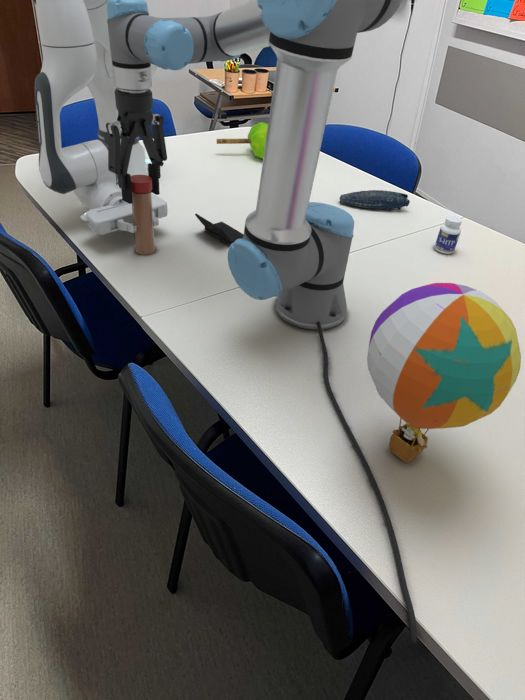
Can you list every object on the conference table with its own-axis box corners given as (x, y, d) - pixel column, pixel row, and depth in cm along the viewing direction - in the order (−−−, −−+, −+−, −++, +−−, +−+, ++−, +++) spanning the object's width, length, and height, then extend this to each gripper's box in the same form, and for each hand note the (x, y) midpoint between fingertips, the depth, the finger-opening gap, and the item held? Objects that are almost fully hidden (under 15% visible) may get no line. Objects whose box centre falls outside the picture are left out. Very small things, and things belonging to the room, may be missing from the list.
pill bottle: (433, 251, 139) (442, 220, 133) (435, 243, 143) (444, 213, 137) (453, 256, 138) (464, 225, 132) (454, 247, 142) (465, 217, 136)
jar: (134, 254, 126) (128, 184, 115) (137, 245, 130) (131, 177, 119) (153, 255, 127) (149, 185, 116) (156, 246, 130) (151, 178, 119)
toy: (317, 443, 83) (351, 282, 64) (393, 393, 94) (441, 242, 75) (417, 530, 72) (494, 366, 53) (490, 462, 83) (575, 305, 64)
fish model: (408, 214, 157) (412, 198, 153) (339, 207, 158) (341, 191, 154) (406, 206, 162) (410, 190, 159) (339, 199, 163) (341, 183, 160)
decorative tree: (213, 119, 187) (294, 118, 192) (214, 148, 193) (292, 147, 198) (219, 133, 173) (306, 132, 178) (220, 165, 179) (303, 163, 185)
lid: (154, 192, 117) (154, 182, 116) (131, 194, 116) (130, 184, 114) (149, 183, 121) (149, 173, 120) (127, 185, 119) (126, 175, 118)
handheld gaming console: (252, 231, 136) (235, 208, 128) (239, 253, 135) (221, 232, 127) (220, 222, 143) (201, 200, 134) (207, 244, 141) (188, 223, 133)
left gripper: (74, 203, 123) (104, 224, 116) (148, 185, 135) (179, 204, 127) (78, 228, 127) (108, 250, 120) (149, 208, 139) (180, 227, 131)
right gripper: (103, 99, 97) (116, 214, 112) (182, 86, 110) (184, 191, 124) (79, 91, 101) (94, 203, 115) (158, 79, 113) (163, 181, 128)
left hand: (145, 226), depth 124 cm, fingers closed on jar, 5 cm apart
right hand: (141, 197), depth 120 cm, fingers open, 7 cm apart
